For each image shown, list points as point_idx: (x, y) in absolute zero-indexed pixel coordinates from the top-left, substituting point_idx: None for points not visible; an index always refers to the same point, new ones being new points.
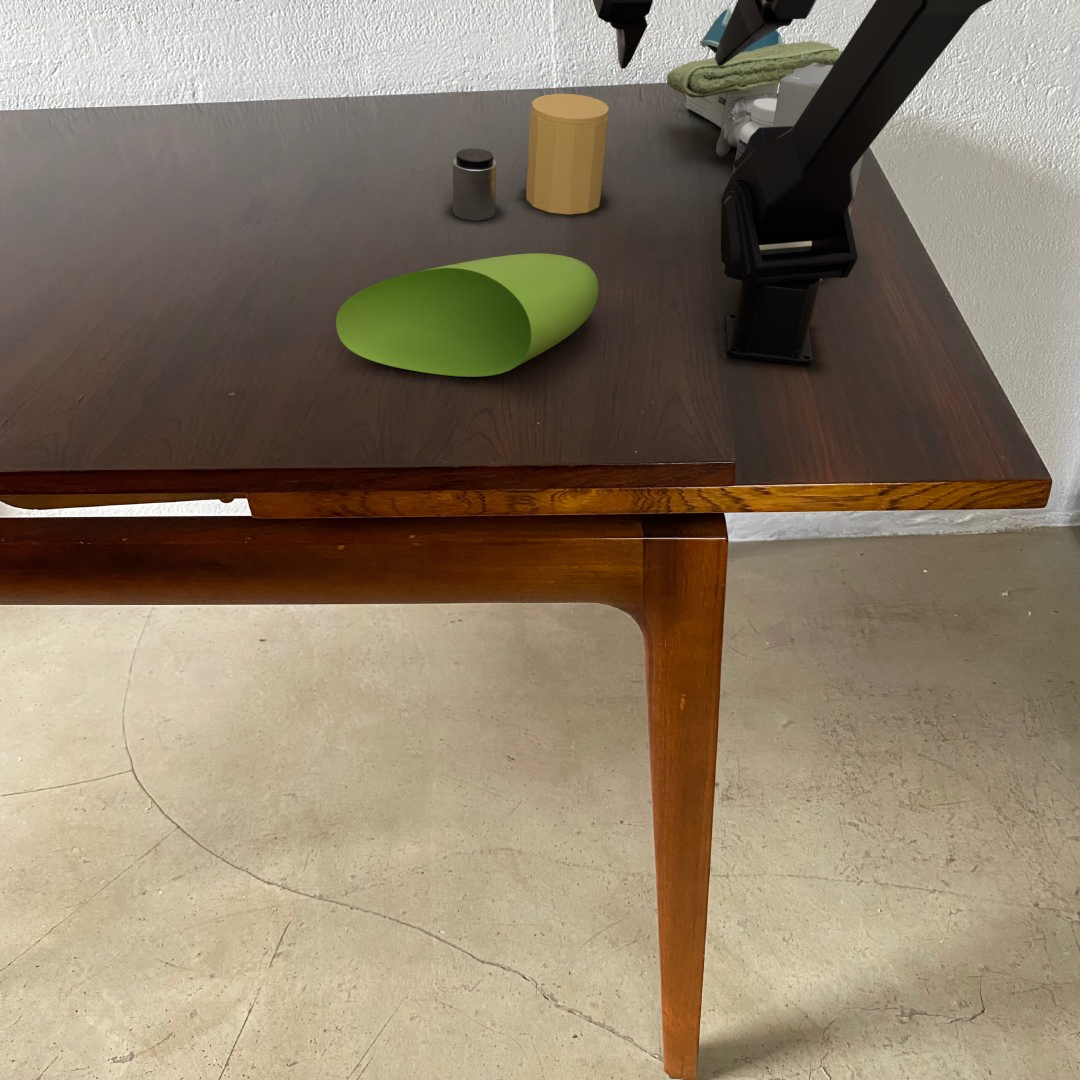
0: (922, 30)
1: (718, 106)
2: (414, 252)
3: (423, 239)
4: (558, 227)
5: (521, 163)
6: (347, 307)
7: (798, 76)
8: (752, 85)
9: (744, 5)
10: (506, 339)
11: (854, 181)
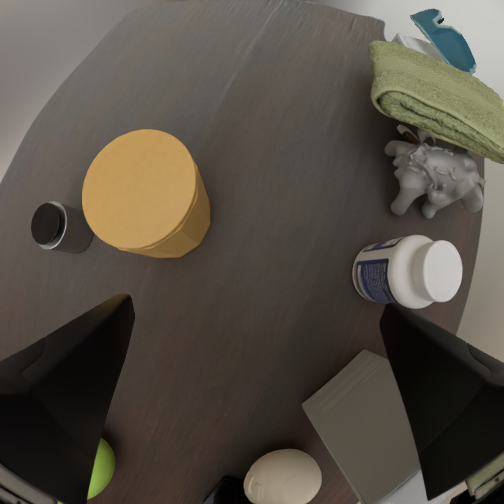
0: None
1: None
2: (26, 302)
3: (33, 280)
4: (137, 286)
5: (170, 115)
6: None
7: (399, 500)
8: (445, 139)
9: (474, 426)
10: None
11: None
